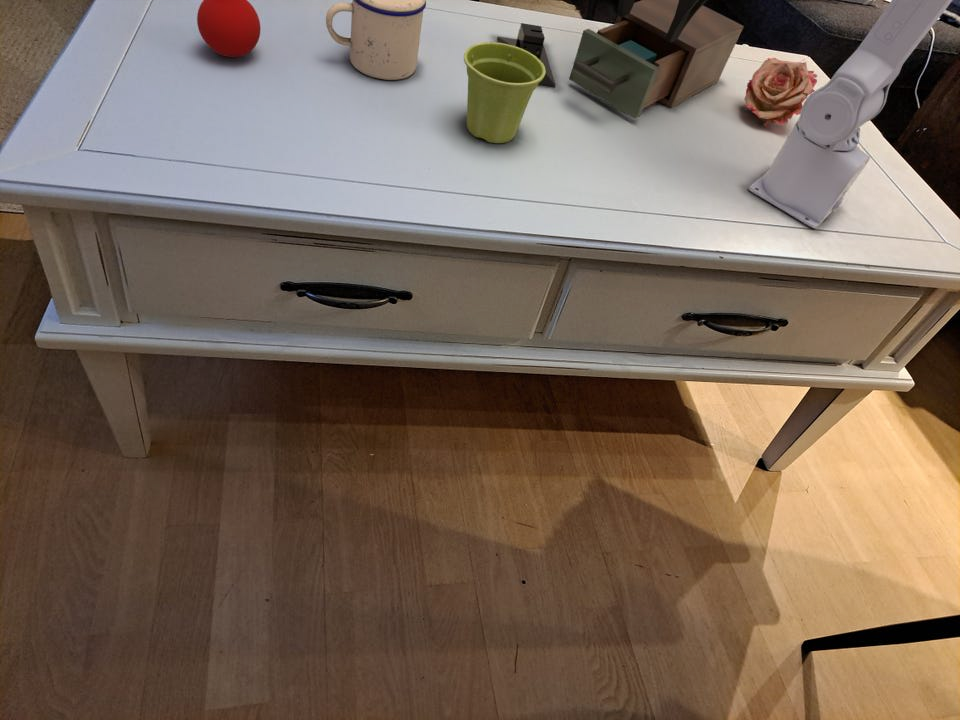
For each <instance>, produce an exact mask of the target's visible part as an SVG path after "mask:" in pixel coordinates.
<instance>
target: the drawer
mask: <svg viewBox="0 0 960 720" xmlns="http://www.w3.org/2000/svg"><path fill="white" fill-rule="evenodd" d="M630 40H631V41H633V42H635V43H637V44H639V45H641V46H642V47H644V48H646V49H648V50H650V51H652V52H653V53H655V54H657V56H656V58H655V61H654V63H653V64H651V63H649V62H648V61H646V60H644V59H642V58H640V57H639V56H637V55H635V54H633V53H631V52H630V51H628V50H626V49H624V48H622V47H621V46H619V45H620V44H622V43H625V42H627V41H630ZM688 54H689V52H688V51H686V50H685V49H683V48H681V47H679V46H677V45H675V44H673V43H672V42H671V43H670V42H668V41H666V39H664V38H662V37H660V36H659V35H657V34H655V33H653V32H651V31H649V30H647V29H646V28H644V27H642V26H640V25H638V24H636V23H634V22H633V21H631V20H629V19H627V20H624V21H621V22H619V23H616V24H615V23H614V24H611V25H608V26H605V27H602V28H600V29H598V30H597V32H595V31H594V30H592V29H590V28H586V29H584V30H582V35H581V38H580V40H579V44H578V48H577V51H576V55H575V57H574V60H573V61H574V62H573V64H572V68H571V71H570V74H569V77H568V80H569V81H570V82H573V83H574V84H576V85H578V86H579V87H581V88H583V89H584V90H586V91H587V92H589V93H591V94H593V95H594V96H596V97H597V98H599V99H601V100H603V101H604V102H606V103H608V104H610V105H611V106H613V107H614V108H617V109H618V110H620V111H621V112H623V113H625V114H626V115H628V116H629V117H631V118H633V119H634V120H636V119H638V118H640V117H641V115H642V113H643V111H644V109H645V108H647V107H649V106H651V105H652V104H654V103H656V102H659V101H658V100H660V99H662V98H664V97H666V96H668V95H669V94H671V93H672V91H673V89H674V87H675V84H676V82H677V79H678V77H679V75H680V72H681V70H682V68H683V65H684V63H685V61H686V58H687V56H688Z"/></svg>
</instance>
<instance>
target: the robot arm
mask: <svg viewBox="0 0 960 720" xmlns="http://www.w3.org/2000/svg"><path fill="white" fill-rule="evenodd" d="M707 1H708V0H679V2H678V6H677V10H676V13H675V16H674V19H673V21H672V23H671V26H670V28H669V30H668V33H667V36H666V41H668V42H670V43H671V42H673V41H675V40H677V39H678V37H679V36H680V34H681V32H682V31H683V29H684V28H685V26H686V25H687V23H688V22H689V21H690V19H691V18H692V17H693V15H694V14H695V13H696V12H697V11H698V10H699V8H700V7H701V6H702V5H703V6H704V4H705V3H706V2H707ZM952 2H953V0H891V1H890V2H889V3H888V5H887V6H886V8H885V9H884V10H883V12H882V13H881V15H880V16H879V18H878V19H877V21H876V22H875V23H874V25H873V26H872V27H871V29H870V30H869V31H868V33H867V35H866V36H865V37H864V39H863V40H862V41H861V43H860V44H859V46H858V47H857V48H856V49H855V51H854V52H852V54H851V55H850V56H849V57H848V58H847V59H846V60H845V61H844V62H843V64H842V65H840V67H839V68H838V69H837V71H835V73H834V74H833V76H832V77H831V78H830V79H829V81H828V82H827V83H826V84H824V85H823V86H821V87H819V88H818V89H816V90H814V92H812V93H811V94H810V95H808V97H807V98H806V99H805V100H804V101H803V103H802V109H801V113H800V114H799V115H800V116H799V118H798V119H797V121H796V123H795V124H794V126H793V128H792V129H791V131H790V132H789V134H788V136H787V138H786V139H785V141H784V143H783V145H782V146H781V149H779V151H778V153H777V155H776V157H775V158H774V160H773V161H772V163H771V165H770V167H769V168H768V170H767V171H766V172H765V173H764V174H762V175H761V176H760V177H759V178H757V179H756V180H755V181H754V182H753V183H751V184H750V185H749V187H748V190H749V191H750V192H751V193H753V194H755V195H757V196H758V197H759V198H761V199H763V200H765V201H766V202H768V203H769V204H771V205H773V206H775V207H777V208H778V209H780V210H781V211H783V212H785V213H787V214H788V215H790V216H792V217H793V218H795V219H796V220H798V221H800V222H801V223H803V224H805V225H807V226H808V227H810V228H812V229H817V228H818V227H819V226H820V225H821V224H822V223H823V222H824V221H825V220H826V219H827V218H829V216H830V214H832V213H833V212H836V211H837V209H838V208H839V207H840V205H841V204H842V203H843V201H844V197H845V196H846V194H847V193H848V192H849V190H850V189H851V187H852V186H853V185H854V183H855V182H856V180H857V179H858V178H859V175H861V173H862V172H863V170H864V169H865V168H866V166H867V164H868V162H869V161H870V159H871V157H870V155H868V154H867V153H865V152H864V151H862V150H861V148H860V147H859V146H858V144H859V143H860V135H861V127H862V126H863V125H864V124H866V123H867V122H870V121H871V120H873V119H875V118H876V117H877V116H878V115H879V114H880V113H881V112H882V110H883V108H884V107H885V105H886V103H887V99H888V95H889V90H890V87H891V85H892V84H893V83H894V81H895V80H896V79H897V77H899V75H900V73H901V70H902V67H903V65H904V64H905V62H906V61H907V59H909V57H910V56H911V55H912V53H913V52H914V50H915V49H916V48H917V47H918V46H919V44H920V43H921V42H922V40H923V39H924V38H925V37H926V35H927V34H928V33H929V31H930V30H931V29H932V28H933V26H934V25H935V23H936V22H937V21H938V20H939V19H940V17H941V16H942V15H943V13H944V12H945V11H946V9H948V7H949V6H950V4H951V3H952ZM634 3H636V0H618V7H617V16H618V15H619V16H621V17H622V16H625V15H628V14H630V12H631V9H632V7H633V5H634Z"/></svg>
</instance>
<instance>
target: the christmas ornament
mask: <svg viewBox="0 0 960 720" xmlns="http://www.w3.org/2000/svg"><path fill="white" fill-rule="evenodd" d="M200 3H201V4H200V5H199V6H198V9H197V15H196V24H197V28H198V32H199V34H200V36H201V38H202V40H203V42H204V43H205V44H206V45H207V46H208V47H209V48H210V49H211V50H212V51H213V52H215V53H217V54H219V55H221V56H224V57H229V58H240V57H242V56H245V55H247V54H249V53H250V52H252V50H254V49H255V47H256V46H257V44H258V43H259V41H260V40H259V39H260V38H261V37H260V36H261V22H260V21H261V20H260V18H259V15H258V12H257V11H256V9H255V8H254V6H253V5H252V4H251V2H250V1H248V0H202V2H200Z"/></svg>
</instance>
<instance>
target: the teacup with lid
mask: <svg viewBox="0 0 960 720" xmlns="http://www.w3.org/2000/svg"><path fill="white" fill-rule="evenodd" d="M426 6H427V0H351V2H338V3H335V4H333V5H331V6H330V7H329V8H328V10H327V12H326V16H325V26H326V29H327V32H328V34H329V35H330V37H331V39H332V40H333V41H334V42H336V43H337V44H339V45H342V46H345V47H346V46H347V47H350V48H349V60H350V62H351V64H352V66H353V67H354V68H355V69H356V70H357V71H359V72H360V73H362V74H364V75H365V76H368V77H371V78H374V79H379V80H385V81H387V80H388V81H397V80H403V79H406V78H409V77H410V76H412V75H413V74H414V73H415V72H416V69H417V66H418V56H419V50H420V49H419V48H420V42H421V41H420V40H421V33H422V25H423V17H424V10H425V9H426V8H427V7H426ZM341 12H350V13H351V22H350V37H345V36H341V35H340V34H338V33H337V32H336V31H335V29H334V28H333V19H334V17H335V15H337V14H338V13H341Z"/></svg>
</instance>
